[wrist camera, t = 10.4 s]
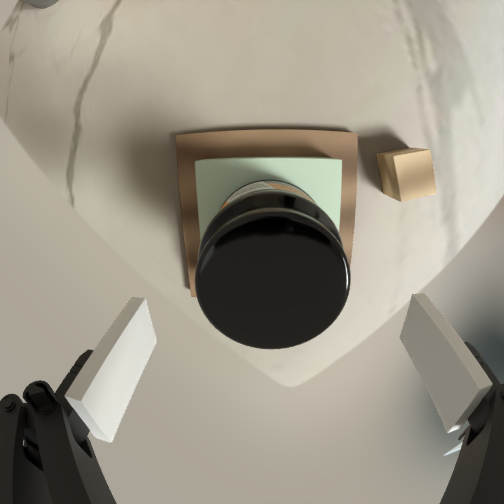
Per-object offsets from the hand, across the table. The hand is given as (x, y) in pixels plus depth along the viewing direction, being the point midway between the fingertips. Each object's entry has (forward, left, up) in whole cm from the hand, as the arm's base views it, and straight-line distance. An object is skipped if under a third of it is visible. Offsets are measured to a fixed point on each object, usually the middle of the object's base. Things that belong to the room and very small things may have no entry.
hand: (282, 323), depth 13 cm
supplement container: (0, 0, -16) cm, 16 cm away
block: (-6, +16, -21) cm, 27 cm away
